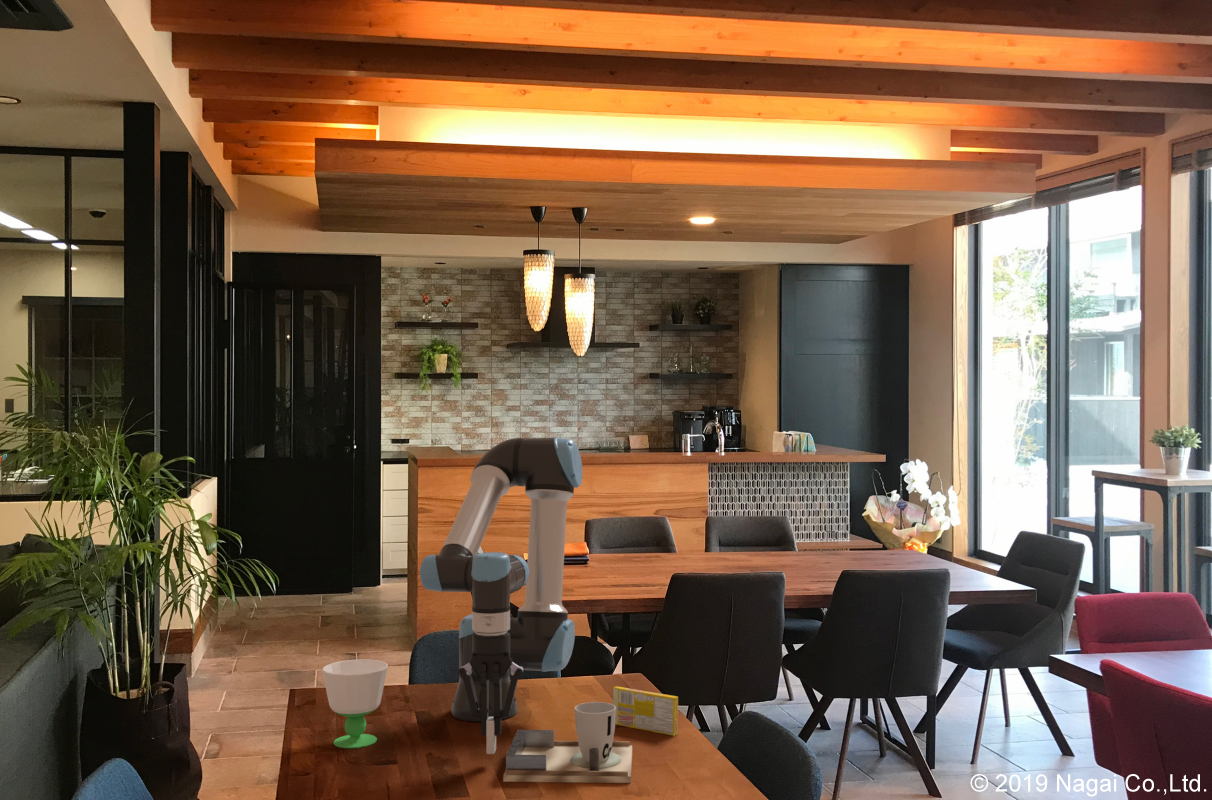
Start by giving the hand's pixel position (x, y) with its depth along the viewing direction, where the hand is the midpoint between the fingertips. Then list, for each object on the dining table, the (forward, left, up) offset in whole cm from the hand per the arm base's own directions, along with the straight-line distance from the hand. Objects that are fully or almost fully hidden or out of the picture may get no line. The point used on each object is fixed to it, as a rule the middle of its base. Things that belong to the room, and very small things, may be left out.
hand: (491, 751), depth 199 cm
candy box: (+8, +38, -3) cm, 39 cm away
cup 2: (+16, +13, -1) cm, 21 cm away
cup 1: (-33, -9, -3) cm, 34 cm away
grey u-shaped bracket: (+6, +5, -1) cm, 8 cm away
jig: (+12, +10, -3) cm, 16 cm away
